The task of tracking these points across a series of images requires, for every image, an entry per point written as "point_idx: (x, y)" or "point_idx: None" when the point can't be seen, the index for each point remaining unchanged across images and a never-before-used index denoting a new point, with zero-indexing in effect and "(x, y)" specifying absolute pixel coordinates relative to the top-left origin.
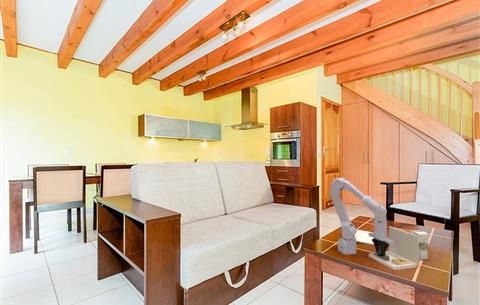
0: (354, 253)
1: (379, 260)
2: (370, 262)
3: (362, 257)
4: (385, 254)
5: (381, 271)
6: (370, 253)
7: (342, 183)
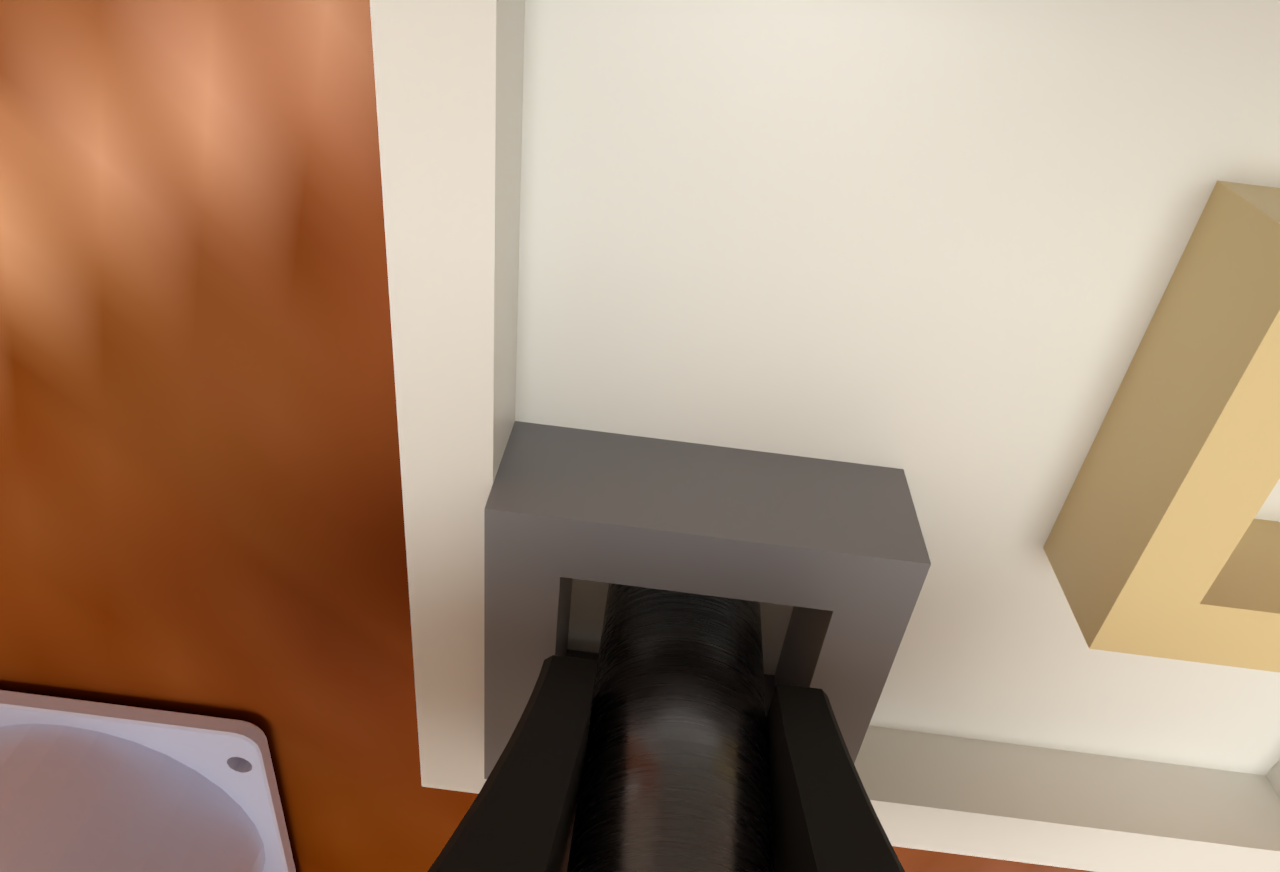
0: (245, 863)
1: None
2: None
3: (384, 747)
4: (509, 219)
5: None
6: (425, 751)
7: None
